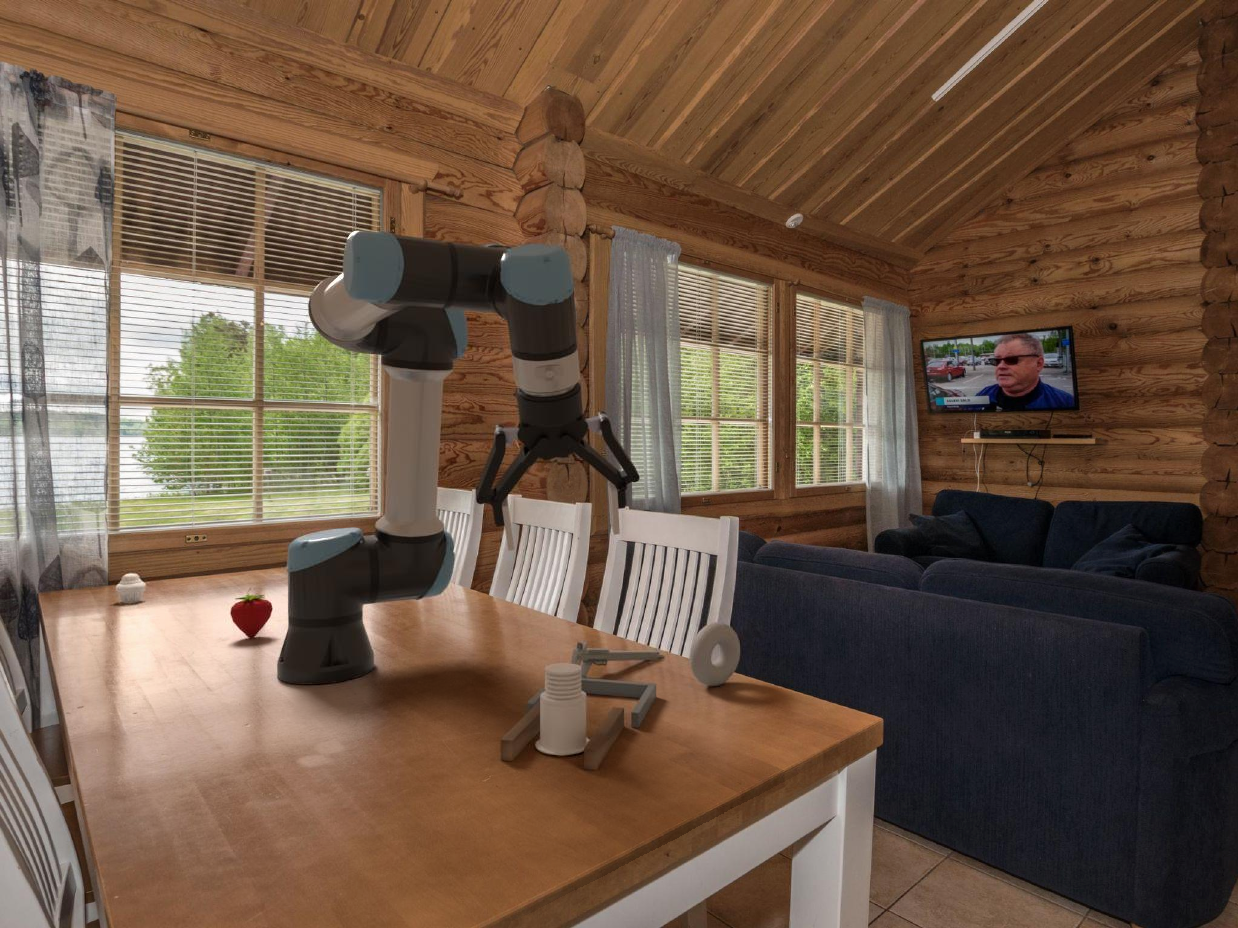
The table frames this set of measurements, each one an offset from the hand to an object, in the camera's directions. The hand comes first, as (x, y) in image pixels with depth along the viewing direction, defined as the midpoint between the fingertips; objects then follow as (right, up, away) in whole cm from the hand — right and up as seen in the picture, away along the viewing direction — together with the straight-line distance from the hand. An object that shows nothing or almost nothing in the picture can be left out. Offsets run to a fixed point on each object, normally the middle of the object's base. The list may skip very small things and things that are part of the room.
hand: (563, 536), depth 98 cm
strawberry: (-64, -25, +50) cm, 85 cm away
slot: (0, -26, -1) cm, 26 cm away
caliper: (+7, -26, +31) cm, 41 cm away
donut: (+22, -26, +21) cm, 40 cm away
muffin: (-109, -24, +82) cm, 139 cm away
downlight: (0, -27, -2) cm, 27 cm away
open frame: (+3, -26, +12) cm, 28 cm away
